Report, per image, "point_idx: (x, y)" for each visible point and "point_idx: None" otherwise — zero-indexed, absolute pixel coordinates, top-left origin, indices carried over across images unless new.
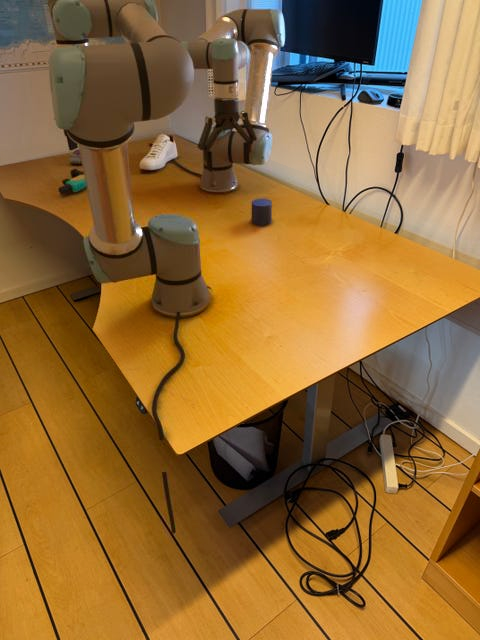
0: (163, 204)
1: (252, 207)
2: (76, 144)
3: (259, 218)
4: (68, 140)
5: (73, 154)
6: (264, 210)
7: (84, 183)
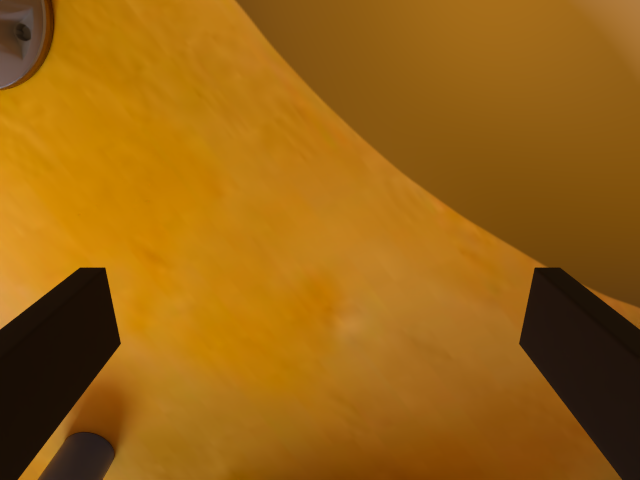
0: (377, 450)
1: (78, 475)
2: (536, 352)
3: (67, 449)
4: (600, 314)
5: None
6: (43, 472)
7: None
